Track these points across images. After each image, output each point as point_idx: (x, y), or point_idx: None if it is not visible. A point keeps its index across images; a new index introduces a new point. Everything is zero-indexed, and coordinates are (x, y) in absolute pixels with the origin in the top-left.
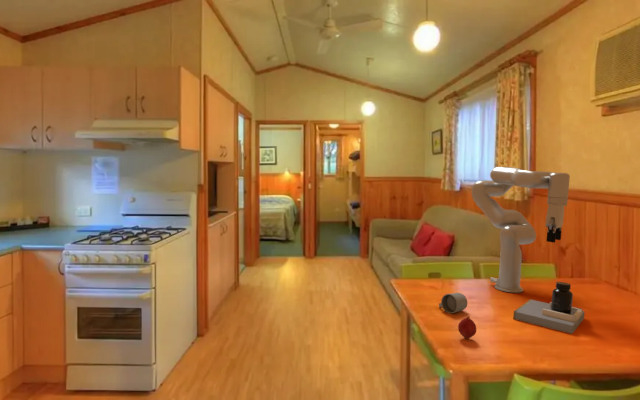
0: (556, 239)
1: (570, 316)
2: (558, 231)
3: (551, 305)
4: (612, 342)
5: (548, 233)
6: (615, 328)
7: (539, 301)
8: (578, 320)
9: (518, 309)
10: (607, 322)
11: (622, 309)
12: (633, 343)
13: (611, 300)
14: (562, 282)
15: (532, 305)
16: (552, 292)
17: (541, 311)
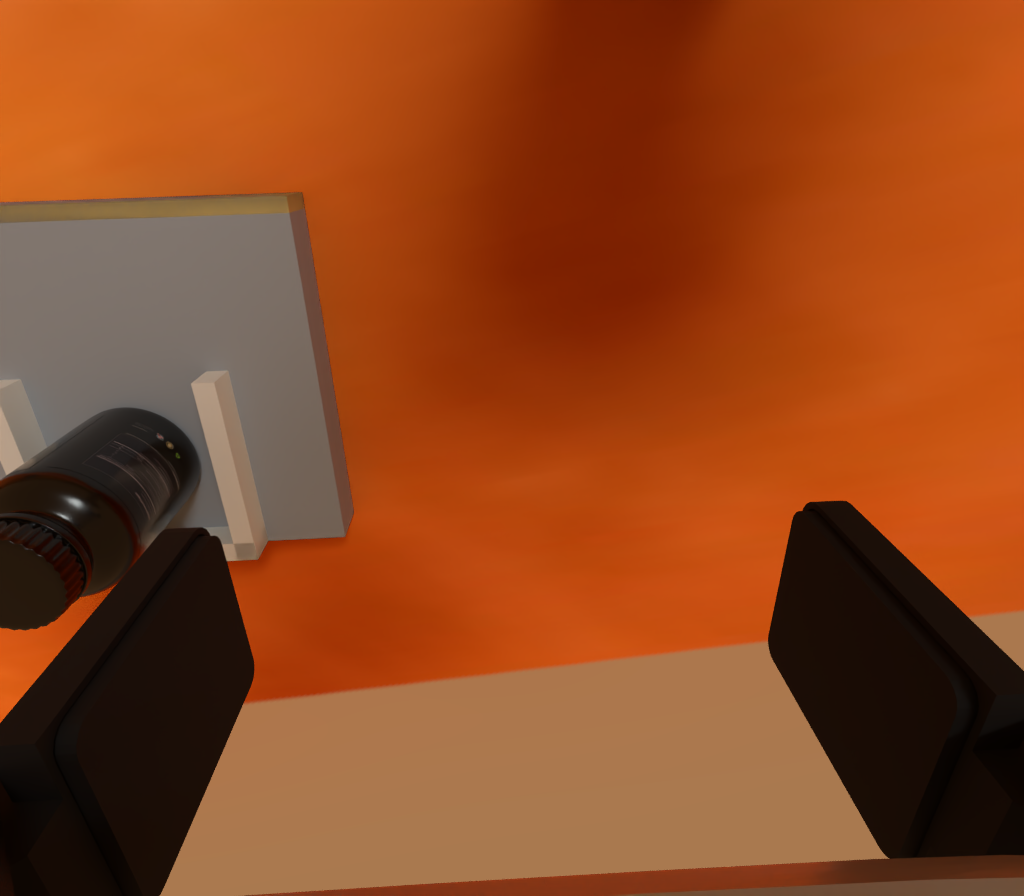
0: (791, 578)
1: None
2: (899, 811)
3: (74, 428)
4: None
5: (36, 741)
6: (333, 635)
7: (294, 272)
8: None
9: None
10: (401, 598)
11: (730, 604)
12: None
13: (903, 537)
14: (33, 572)
15: (131, 267)
16: (16, 471)
17: (57, 359)
